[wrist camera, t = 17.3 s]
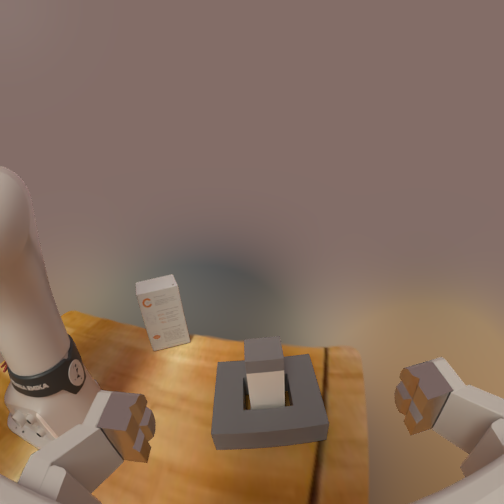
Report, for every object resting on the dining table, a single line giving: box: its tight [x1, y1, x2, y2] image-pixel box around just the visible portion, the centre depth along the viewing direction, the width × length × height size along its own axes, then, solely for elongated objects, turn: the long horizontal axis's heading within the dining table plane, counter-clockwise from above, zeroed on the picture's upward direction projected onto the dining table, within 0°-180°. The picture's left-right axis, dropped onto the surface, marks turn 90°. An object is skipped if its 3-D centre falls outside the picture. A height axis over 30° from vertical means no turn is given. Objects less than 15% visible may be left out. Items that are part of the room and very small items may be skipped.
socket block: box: [211, 354, 329, 450], centre depth 38 cm, size 15×15×4 cm
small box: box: [136, 274, 190, 351], centre depth 56 cm, size 8×6×13 cm
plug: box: [244, 336, 285, 410], centre depth 37 cm, size 5×5×12 cm
